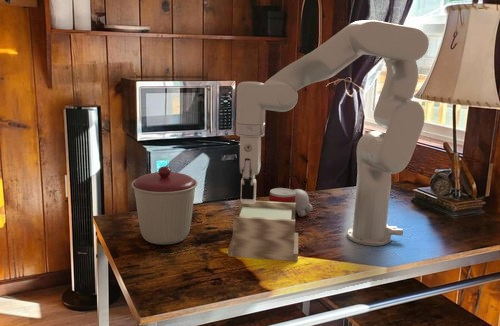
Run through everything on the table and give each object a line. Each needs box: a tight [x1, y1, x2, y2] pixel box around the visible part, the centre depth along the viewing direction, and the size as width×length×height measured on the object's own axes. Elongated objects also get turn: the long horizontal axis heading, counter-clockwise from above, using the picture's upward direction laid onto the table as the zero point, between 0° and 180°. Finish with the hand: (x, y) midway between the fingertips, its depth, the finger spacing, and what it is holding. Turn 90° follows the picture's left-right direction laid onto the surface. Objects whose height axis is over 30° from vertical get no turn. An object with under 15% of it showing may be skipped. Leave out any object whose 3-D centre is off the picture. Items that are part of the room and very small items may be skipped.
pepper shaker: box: [240, 171, 257, 204], centre depth 133 cm, size 4×4×10 cm
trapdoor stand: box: [227, 199, 299, 262], centre depth 135 cm, size 18×15×11 cm
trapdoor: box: [240, 206, 292, 220], centre depth 135 cm, size 14×12×2 cm
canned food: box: [268, 187, 296, 203], centre depth 152 cm, size 8×8×11 cm
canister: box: [130, 165, 199, 246], centre depth 138 cm, size 18×18×21 cm
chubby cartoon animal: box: [293, 188, 314, 218], centre depth 162 cm, size 7×12×8 cm, turn 118°
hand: (248, 195), depth 134 cm, fingers closed on pepper shaker, 4 cm apart
